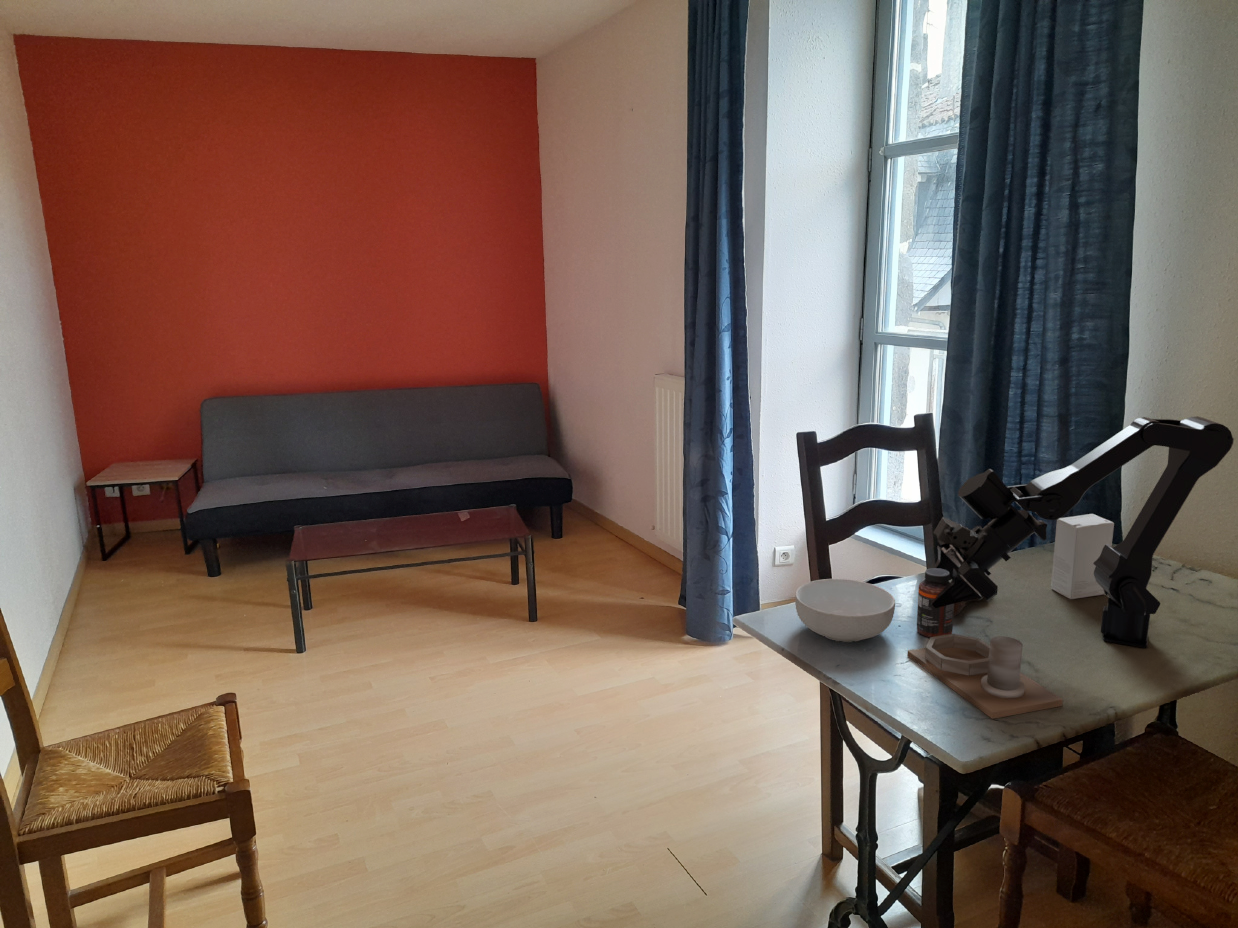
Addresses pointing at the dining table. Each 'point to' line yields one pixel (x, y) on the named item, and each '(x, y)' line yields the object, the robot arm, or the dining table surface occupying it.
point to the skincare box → (1079, 554)
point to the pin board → (985, 673)
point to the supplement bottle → (927, 615)
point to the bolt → (960, 605)
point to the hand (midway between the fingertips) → (928, 596)
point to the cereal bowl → (844, 608)
